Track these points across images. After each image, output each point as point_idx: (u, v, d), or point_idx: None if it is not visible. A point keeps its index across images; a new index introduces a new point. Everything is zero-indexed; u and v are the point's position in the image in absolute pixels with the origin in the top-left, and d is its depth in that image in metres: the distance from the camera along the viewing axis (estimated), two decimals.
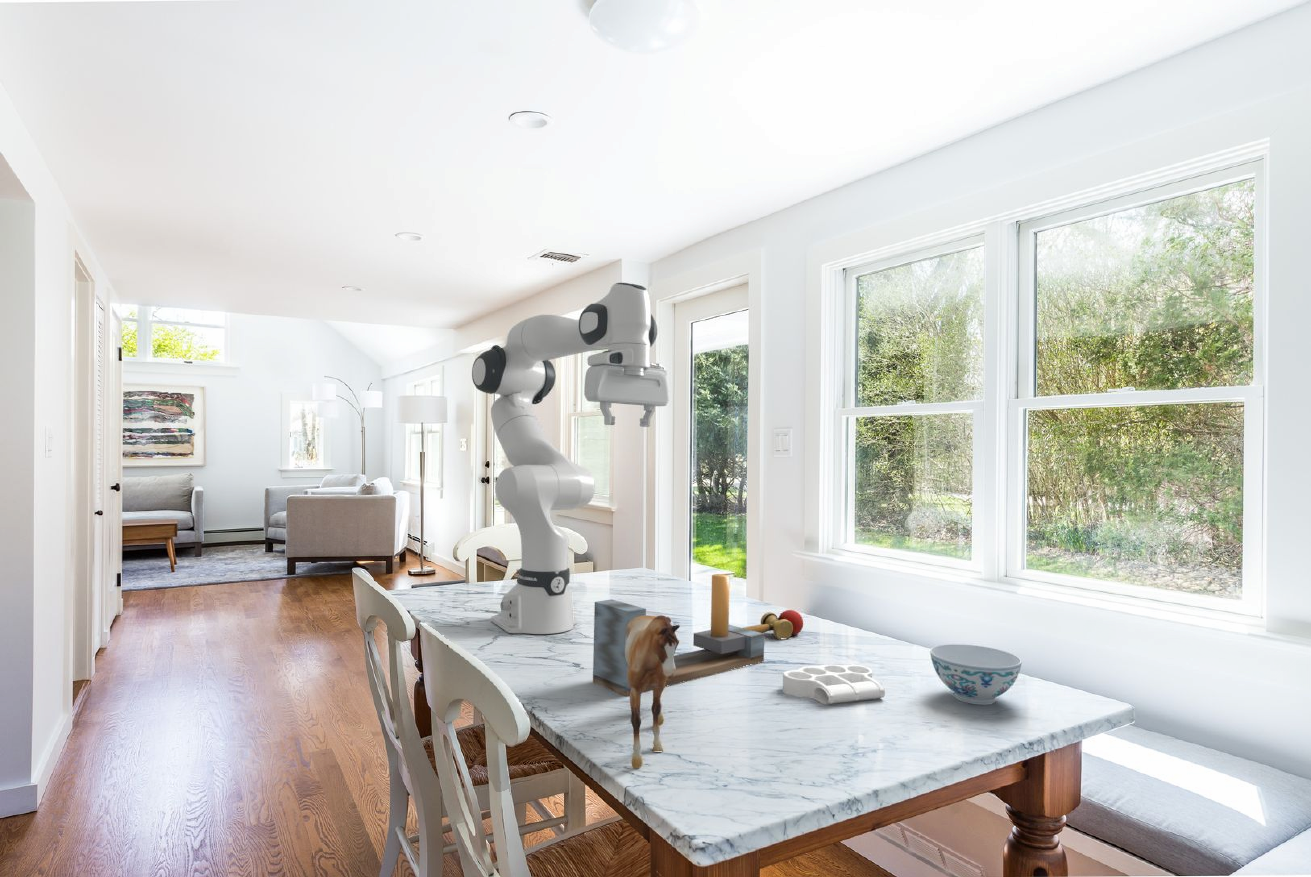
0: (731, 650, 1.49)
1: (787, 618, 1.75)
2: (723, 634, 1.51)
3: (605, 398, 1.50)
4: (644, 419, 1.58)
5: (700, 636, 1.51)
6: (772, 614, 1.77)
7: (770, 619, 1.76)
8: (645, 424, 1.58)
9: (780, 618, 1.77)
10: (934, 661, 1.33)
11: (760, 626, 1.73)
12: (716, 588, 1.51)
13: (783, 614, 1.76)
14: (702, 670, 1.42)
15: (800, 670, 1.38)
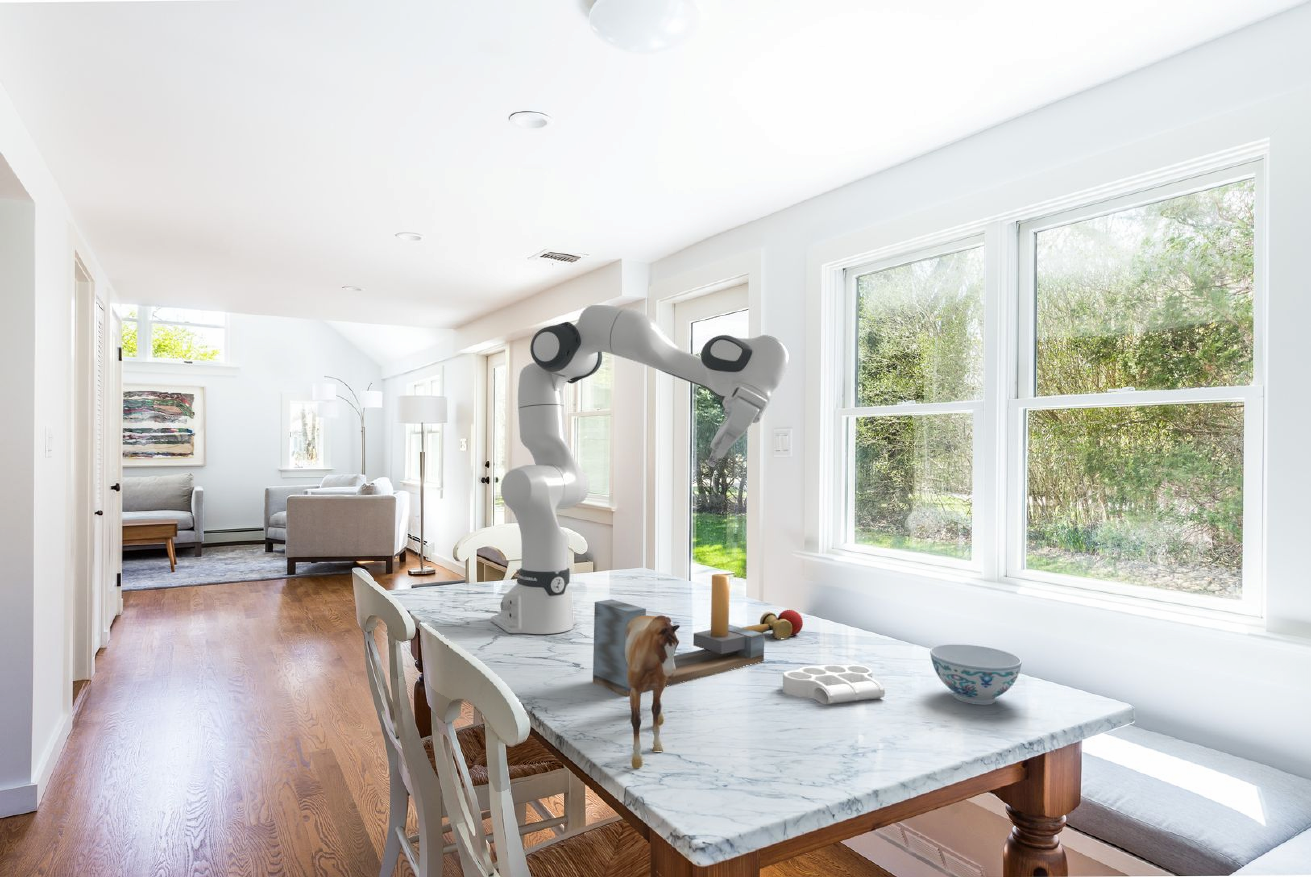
0: (731, 650, 1.49)
1: (786, 618, 1.75)
2: (723, 634, 1.51)
3: None
4: (716, 459, 1.59)
5: (700, 636, 1.51)
6: (771, 614, 1.77)
7: (769, 619, 1.76)
8: (715, 464, 1.59)
9: (779, 618, 1.76)
10: (934, 661, 1.33)
11: (759, 626, 1.72)
12: (716, 588, 1.51)
13: (782, 614, 1.76)
14: (702, 670, 1.42)
15: (800, 670, 1.38)
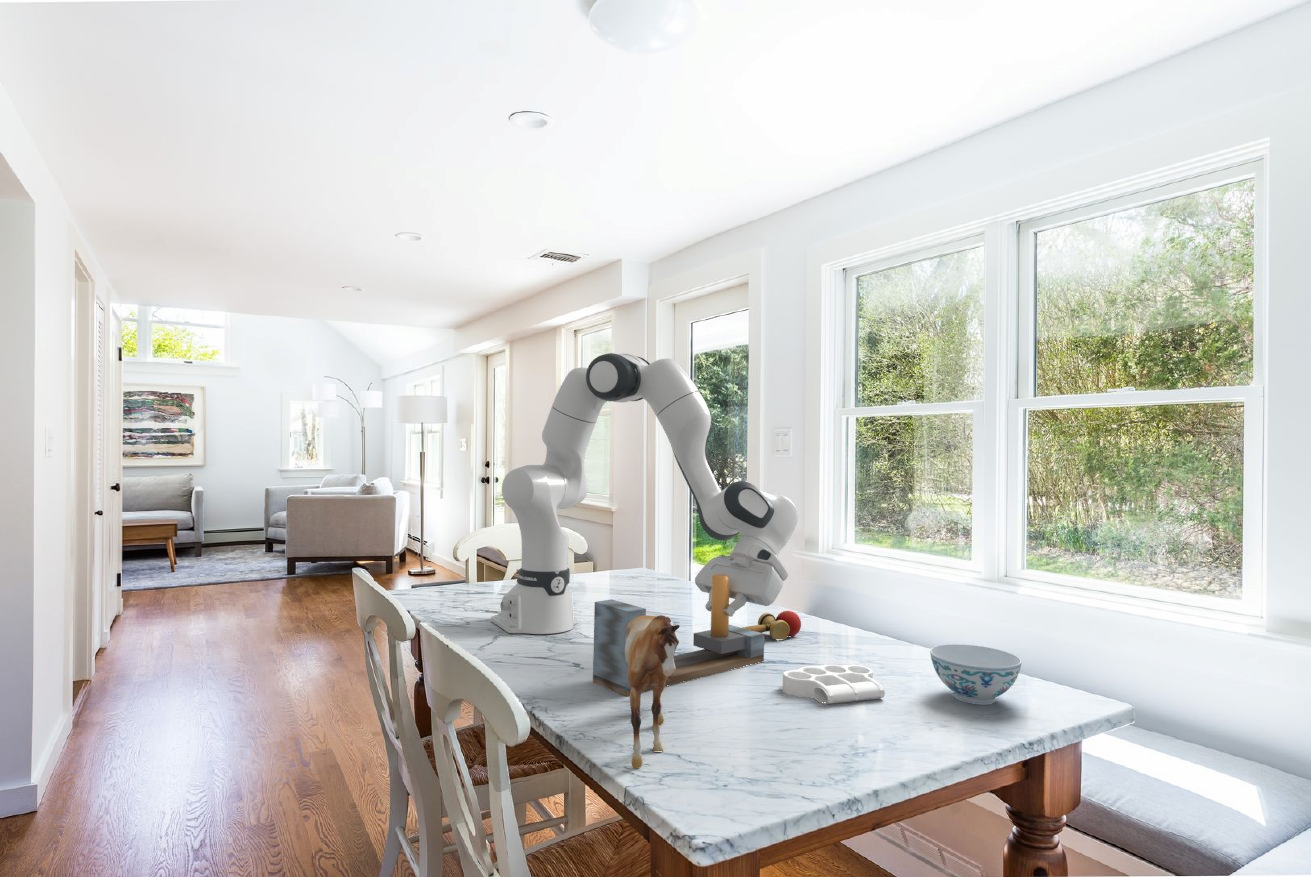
0: (731, 650, 1.49)
1: (784, 619, 1.74)
2: (723, 634, 1.51)
3: None
4: None
5: (700, 636, 1.51)
6: (769, 615, 1.76)
7: (767, 620, 1.75)
8: None
9: (777, 619, 1.75)
10: (934, 661, 1.33)
11: (756, 627, 1.72)
12: (716, 588, 1.51)
13: (780, 615, 1.75)
14: (702, 670, 1.42)
15: (800, 670, 1.38)
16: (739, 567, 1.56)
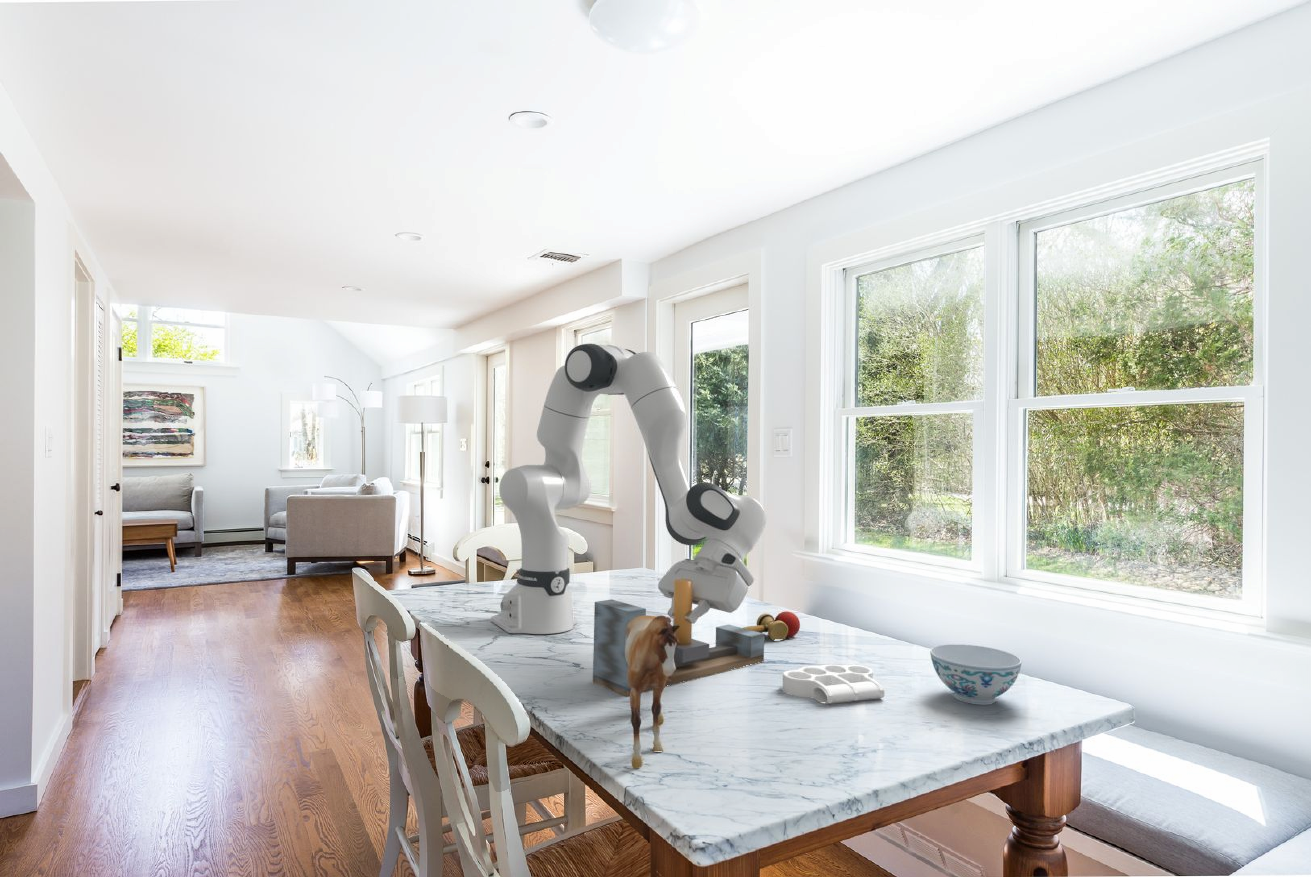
0: (693, 659, 1.42)
1: (783, 620, 1.73)
2: (685, 642, 1.44)
3: None
4: None
5: None
6: (768, 615, 1.76)
7: (766, 620, 1.74)
8: None
9: (776, 619, 1.75)
10: (934, 661, 1.33)
11: (754, 627, 1.71)
12: (678, 593, 1.44)
13: (779, 615, 1.75)
14: (702, 670, 1.42)
15: (800, 670, 1.38)
16: (703, 572, 1.49)
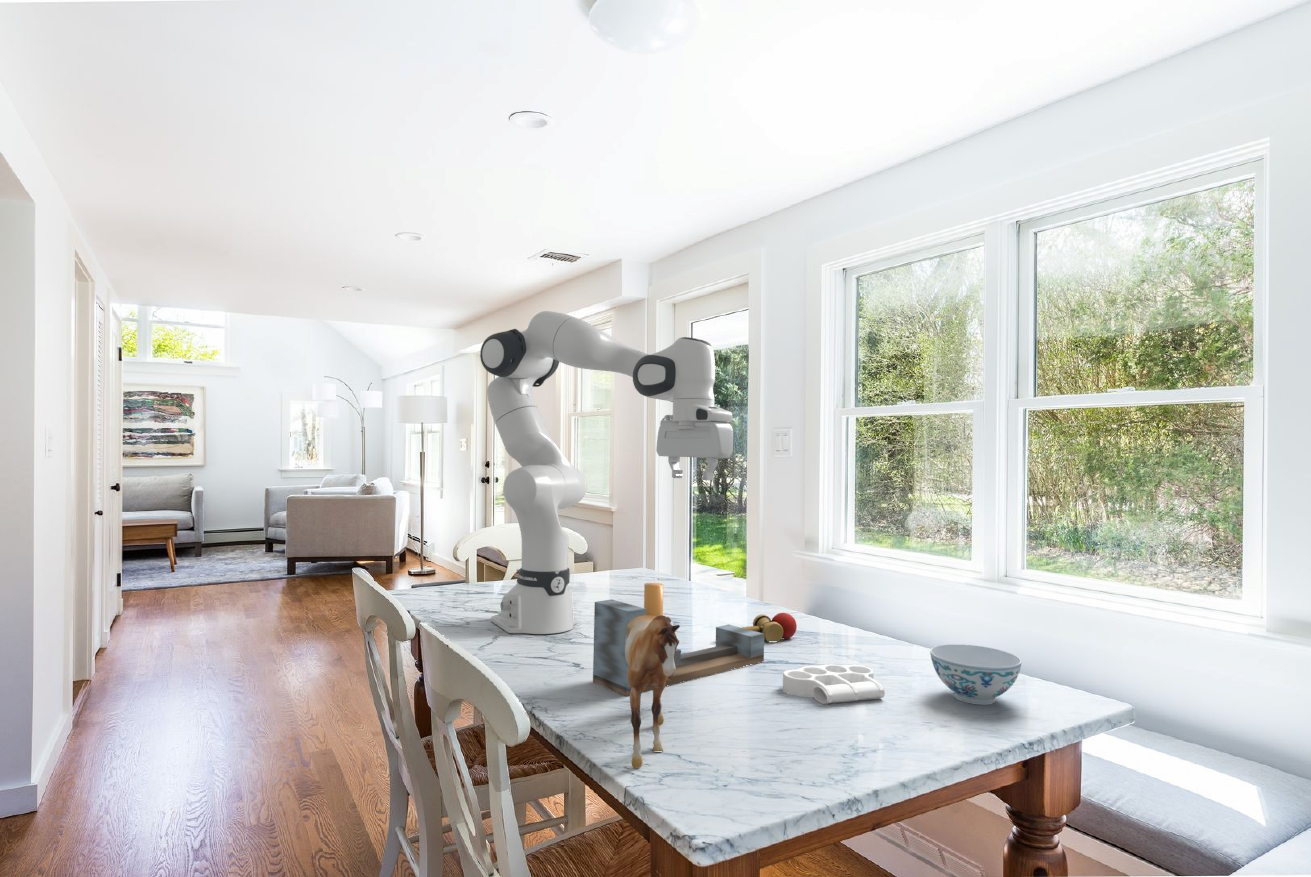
0: None
1: (778, 621, 1.72)
2: None
3: None
4: (681, 471, 1.62)
5: None
6: (764, 616, 1.74)
7: (762, 621, 1.73)
8: None
9: (772, 621, 1.74)
10: (934, 661, 1.33)
11: (749, 628, 1.70)
12: (649, 598, 1.39)
13: (775, 617, 1.73)
14: (702, 670, 1.42)
15: (801, 670, 1.38)
16: (687, 430, 1.57)
